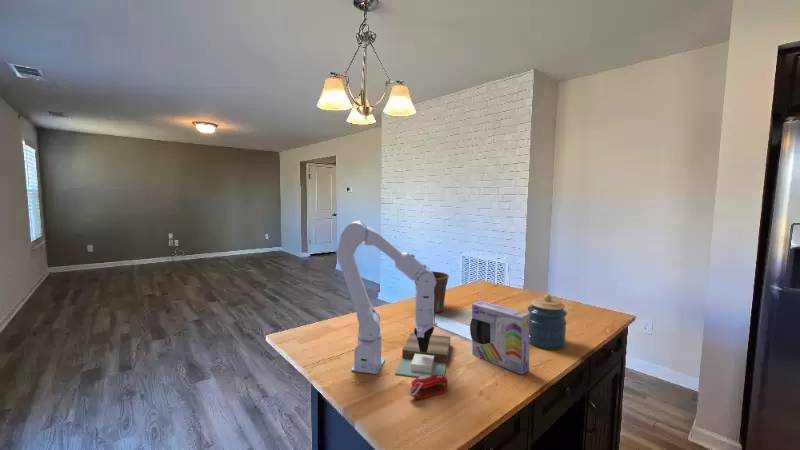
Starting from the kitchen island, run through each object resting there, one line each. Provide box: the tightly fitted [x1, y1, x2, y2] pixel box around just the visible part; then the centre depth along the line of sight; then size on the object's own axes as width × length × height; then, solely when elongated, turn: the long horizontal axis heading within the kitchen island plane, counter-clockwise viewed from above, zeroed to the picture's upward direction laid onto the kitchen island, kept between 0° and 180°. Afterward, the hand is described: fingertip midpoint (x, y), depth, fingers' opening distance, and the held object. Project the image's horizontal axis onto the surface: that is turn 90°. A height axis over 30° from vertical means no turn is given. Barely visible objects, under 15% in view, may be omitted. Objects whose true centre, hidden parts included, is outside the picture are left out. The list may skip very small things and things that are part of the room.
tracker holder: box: [408, 374, 448, 400], centre depth 93 cm, size 12×4×10 cm
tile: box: [411, 354, 434, 373], centre depth 105 cm, size 7×6×2 cm
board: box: [401, 332, 451, 365], centre depth 116 cm, size 14×14×3 cm
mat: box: [394, 358, 447, 378], centre depth 104 cm, size 10×14×1 cm
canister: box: [527, 293, 568, 351], centre depth 124 cm, size 13×13×18 cm
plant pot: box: [414, 270, 450, 314], centre depth 159 cm, size 16×16×16 cm
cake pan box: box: [469, 300, 530, 375], centre depth 109 cm, size 19×5×18 cm, turn 40°
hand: (423, 351), depth 107 cm, fingers closed
